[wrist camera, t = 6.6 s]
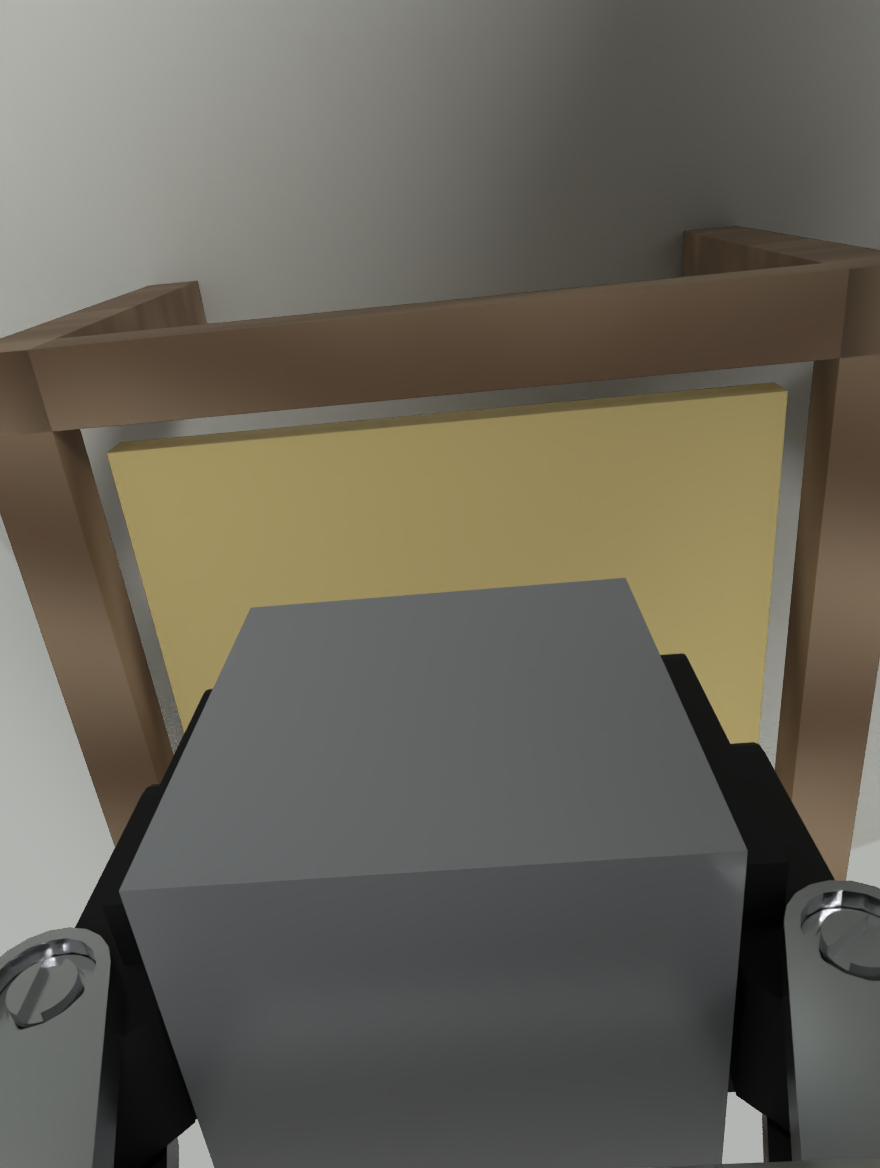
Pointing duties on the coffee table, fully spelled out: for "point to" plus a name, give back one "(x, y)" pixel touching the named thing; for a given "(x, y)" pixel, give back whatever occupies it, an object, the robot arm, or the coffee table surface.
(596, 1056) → the smooth grey cube
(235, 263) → the coffee table surface
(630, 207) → the coffee table surface
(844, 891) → the robot arm
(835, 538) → the frame
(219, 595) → the trapdoor
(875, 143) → the coffee table surface
